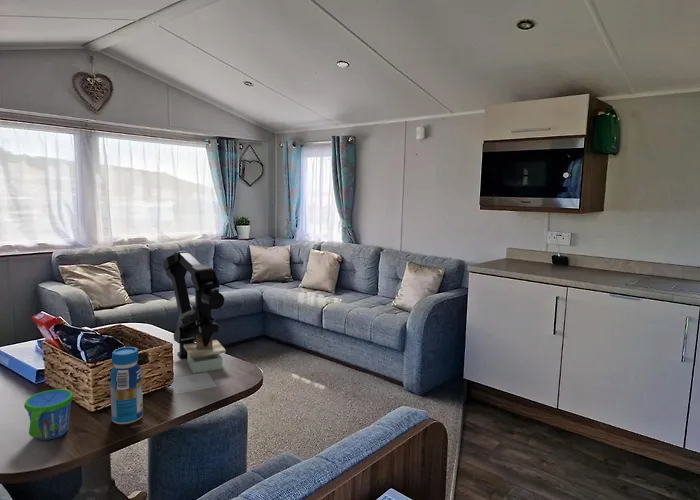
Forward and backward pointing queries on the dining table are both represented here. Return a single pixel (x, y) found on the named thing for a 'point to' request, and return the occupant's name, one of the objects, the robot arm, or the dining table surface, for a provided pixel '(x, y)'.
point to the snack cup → (49, 413)
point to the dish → (205, 363)
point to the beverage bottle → (126, 386)
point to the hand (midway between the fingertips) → (204, 344)
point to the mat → (192, 383)
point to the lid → (203, 348)
